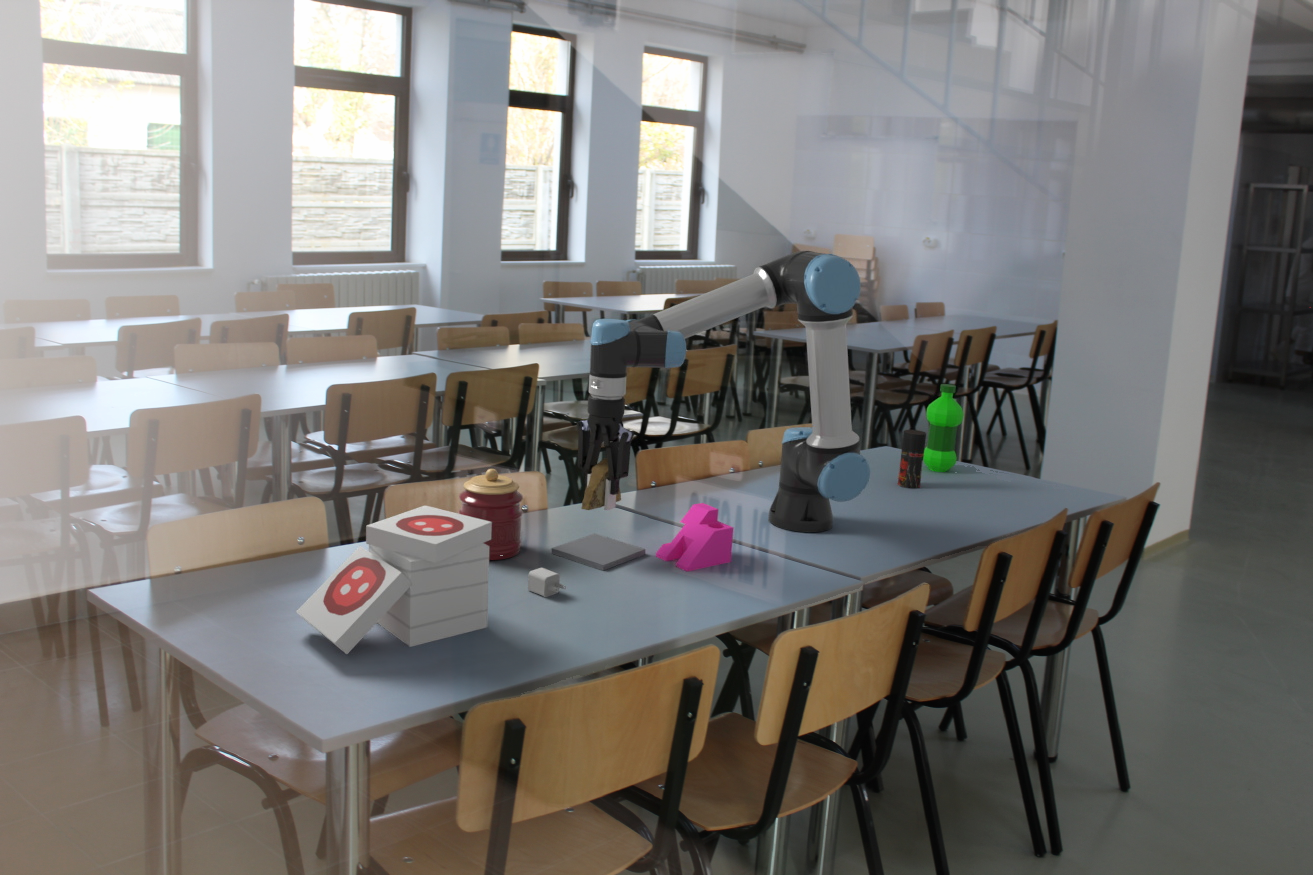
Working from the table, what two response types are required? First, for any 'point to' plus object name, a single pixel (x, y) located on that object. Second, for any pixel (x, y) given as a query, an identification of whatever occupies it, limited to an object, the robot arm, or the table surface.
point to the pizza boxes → (408, 581)
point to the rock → (597, 487)
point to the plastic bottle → (942, 430)
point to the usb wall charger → (544, 582)
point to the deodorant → (911, 459)
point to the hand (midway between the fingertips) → (600, 505)
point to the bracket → (699, 540)
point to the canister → (495, 511)
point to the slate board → (598, 551)
